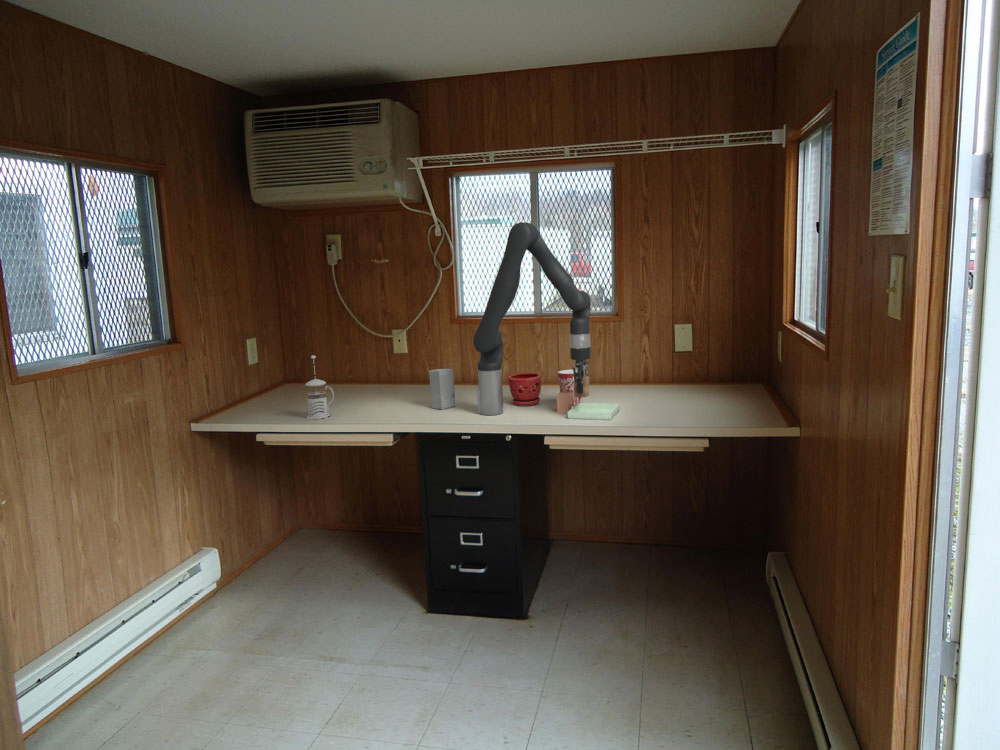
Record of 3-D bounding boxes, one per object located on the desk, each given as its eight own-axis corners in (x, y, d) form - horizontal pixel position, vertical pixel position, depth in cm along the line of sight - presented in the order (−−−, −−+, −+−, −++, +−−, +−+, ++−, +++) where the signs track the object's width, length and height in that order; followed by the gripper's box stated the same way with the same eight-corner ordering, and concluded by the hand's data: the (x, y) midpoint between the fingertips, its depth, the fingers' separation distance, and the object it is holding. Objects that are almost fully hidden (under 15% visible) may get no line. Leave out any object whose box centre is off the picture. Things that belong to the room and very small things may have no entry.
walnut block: (574, 396, 268) (573, 378, 266) (577, 394, 272) (577, 376, 271) (586, 397, 266) (585, 378, 265) (589, 394, 270) (588, 376, 269)
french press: (308, 415, 296) (302, 354, 292) (337, 413, 297) (331, 352, 293) (304, 420, 287) (298, 357, 282) (334, 418, 288) (328, 355, 283)
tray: (567, 418, 268) (567, 411, 268) (578, 409, 283) (578, 402, 282) (610, 420, 263) (610, 413, 262) (619, 410, 277) (619, 404, 277)
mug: (558, 407, 289) (557, 373, 286) (558, 402, 298) (557, 369, 295) (590, 406, 288) (589, 372, 285) (589, 401, 296) (589, 368, 294)
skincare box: (441, 410, 293) (439, 371, 291) (429, 408, 298) (427, 370, 296) (456, 406, 300) (454, 368, 297) (445, 404, 304) (442, 367, 302)
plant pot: (516, 400, 306) (514, 372, 304) (545, 401, 301) (544, 372, 299) (505, 406, 294) (503, 377, 292) (536, 407, 289) (534, 378, 287)
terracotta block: (557, 412, 280) (556, 394, 278) (560, 410, 284) (560, 392, 282) (568, 412, 278) (568, 394, 277) (571, 410, 282) (571, 392, 281)
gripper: (575, 343, 274) (576, 388, 277) (565, 348, 261) (566, 395, 263) (594, 343, 271) (596, 388, 274) (585, 348, 258) (587, 395, 261)
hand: (581, 391), depth 269 cm, fingers closed on walnut block, 4 cm apart
